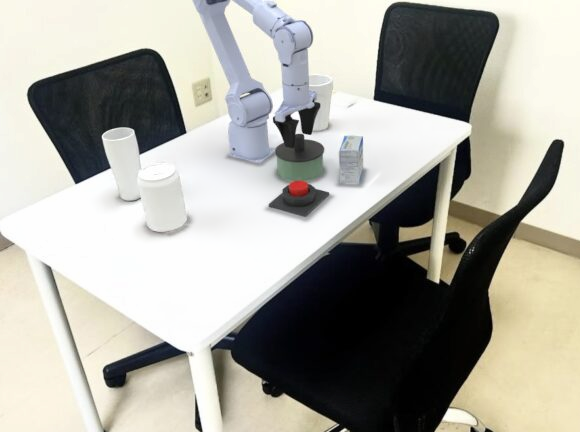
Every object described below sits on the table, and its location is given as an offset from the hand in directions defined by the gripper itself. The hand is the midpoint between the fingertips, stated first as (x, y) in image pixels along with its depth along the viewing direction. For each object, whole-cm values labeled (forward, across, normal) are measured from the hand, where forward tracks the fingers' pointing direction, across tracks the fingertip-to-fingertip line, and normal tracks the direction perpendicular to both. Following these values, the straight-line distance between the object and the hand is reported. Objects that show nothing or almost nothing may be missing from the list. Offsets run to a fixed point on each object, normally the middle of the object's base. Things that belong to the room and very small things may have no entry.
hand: (298, 140), depth 126 cm
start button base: (+8, -12, -7) cm, 16 cm away
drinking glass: (+8, -26, +28) cm, 39 cm away
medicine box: (+8, +3, -12) cm, 15 cm away
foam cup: (+8, +25, +10) cm, 28 cm away
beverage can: (+8, -31, +13) cm, 35 cm away
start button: (+5, -12, -7) cm, 15 cm away
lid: (+3, 0, 0) cm, 3 cm away
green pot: (+8, 0, 0) cm, 8 cm away
